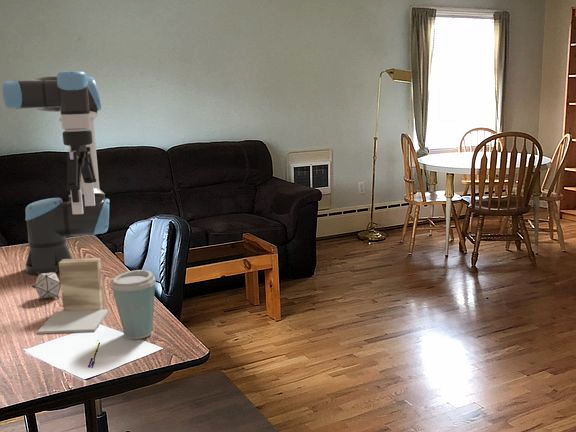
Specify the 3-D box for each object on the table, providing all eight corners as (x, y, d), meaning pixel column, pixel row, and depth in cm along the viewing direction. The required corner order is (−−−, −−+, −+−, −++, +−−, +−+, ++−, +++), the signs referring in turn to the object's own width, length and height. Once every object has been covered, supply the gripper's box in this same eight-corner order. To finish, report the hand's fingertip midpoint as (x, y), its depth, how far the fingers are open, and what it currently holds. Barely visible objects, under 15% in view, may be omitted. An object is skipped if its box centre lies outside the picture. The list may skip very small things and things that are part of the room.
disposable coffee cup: (139, 346, 144) (134, 284, 141) (105, 338, 149) (99, 278, 146) (168, 330, 153) (164, 272, 150) (135, 323, 158) (131, 266, 155)
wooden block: (67, 308, 171) (62, 259, 168) (104, 307, 171) (100, 257, 168) (63, 313, 167) (58, 262, 164) (101, 311, 168) (96, 261, 165)
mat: (55, 313, 167) (55, 311, 167) (108, 311, 167) (108, 309, 167) (37, 333, 153) (37, 331, 153) (94, 331, 154) (94, 329, 154)
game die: (53, 312, 179) (50, 292, 172) (27, 301, 180) (22, 280, 173) (71, 289, 185) (68, 269, 178) (46, 278, 186) (42, 257, 179)
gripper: (75, 127, 179) (82, 202, 184) (47, 133, 156) (56, 218, 161) (102, 126, 180) (108, 201, 184) (78, 132, 157) (86, 218, 161)
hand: (84, 209), depth 173 cm, fingers open, 11 cm apart
